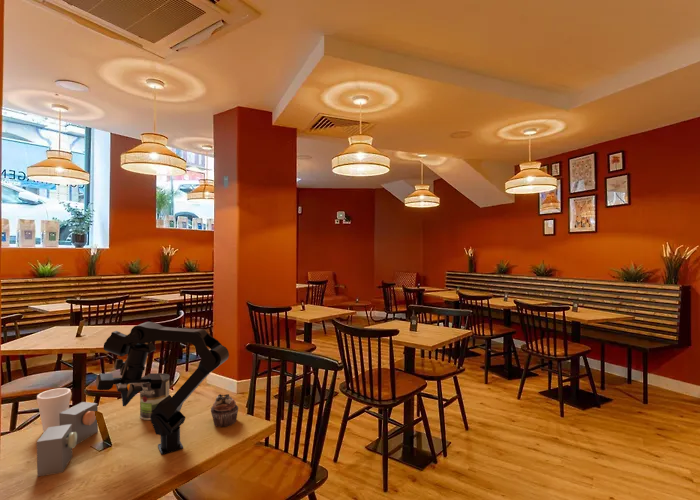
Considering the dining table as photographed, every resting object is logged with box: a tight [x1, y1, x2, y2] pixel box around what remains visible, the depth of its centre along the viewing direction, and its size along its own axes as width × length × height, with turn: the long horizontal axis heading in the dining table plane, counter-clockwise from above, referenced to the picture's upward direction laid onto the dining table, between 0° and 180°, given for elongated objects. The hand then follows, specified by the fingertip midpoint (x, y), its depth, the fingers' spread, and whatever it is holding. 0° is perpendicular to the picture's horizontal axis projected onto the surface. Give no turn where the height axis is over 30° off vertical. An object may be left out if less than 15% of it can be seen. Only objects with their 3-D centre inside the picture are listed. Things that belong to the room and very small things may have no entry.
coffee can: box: [139, 372, 171, 421], centre depth 152 cm, size 10×10×14 cm
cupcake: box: [210, 393, 239, 428], centre depth 146 cm, size 10×10×10 cm
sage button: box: [65, 432, 77, 449], centre depth 119 cm, size 6×4×4 cm
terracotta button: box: [82, 411, 96, 425], centre depth 134 cm, size 6×4×4 cm
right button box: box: [59, 401, 99, 446], centre depth 135 cm, size 6×9×10 cm, turn 170°
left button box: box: [36, 424, 73, 477], centre depth 118 cm, size 6×9×10 cm, turn 20°
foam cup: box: [36, 387, 72, 433], centre depth 140 cm, size 10×9×13 cm
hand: (124, 405), depth 130 cm, fingers closed
